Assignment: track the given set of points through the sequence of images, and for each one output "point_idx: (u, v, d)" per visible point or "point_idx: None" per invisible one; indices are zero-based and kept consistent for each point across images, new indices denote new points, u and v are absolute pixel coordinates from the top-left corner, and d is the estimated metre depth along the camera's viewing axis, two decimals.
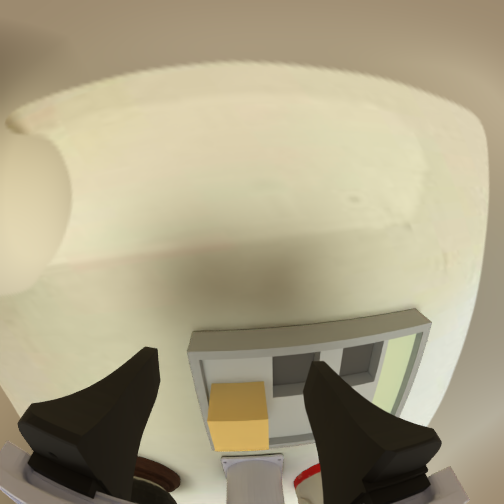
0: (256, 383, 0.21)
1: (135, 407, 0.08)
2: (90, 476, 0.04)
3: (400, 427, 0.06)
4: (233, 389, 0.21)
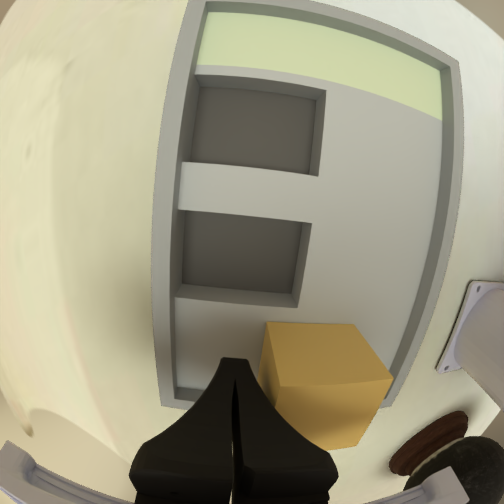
0: (265, 335, 0.12)
1: None
2: None
3: (289, 443, 0.06)
4: (261, 374, 0.12)
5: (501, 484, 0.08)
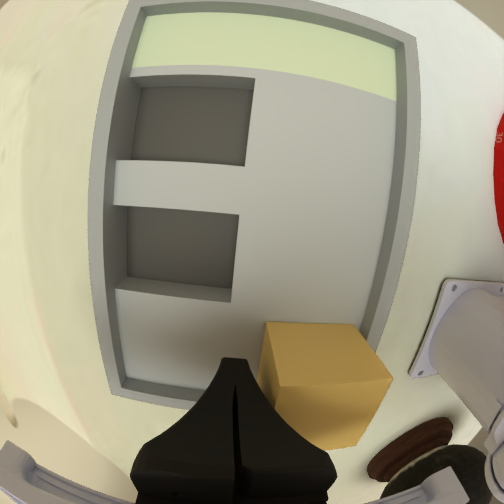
0: (264, 335, 0.12)
1: None
2: None
3: (287, 443, 0.06)
4: (260, 374, 0.12)
5: (483, 498, 0.07)
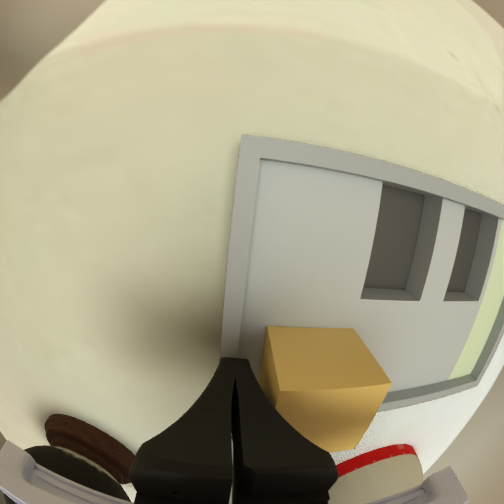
0: (343, 330, 0.13)
1: None
2: None
3: (289, 443, 0.06)
4: (310, 336, 0.12)
5: None
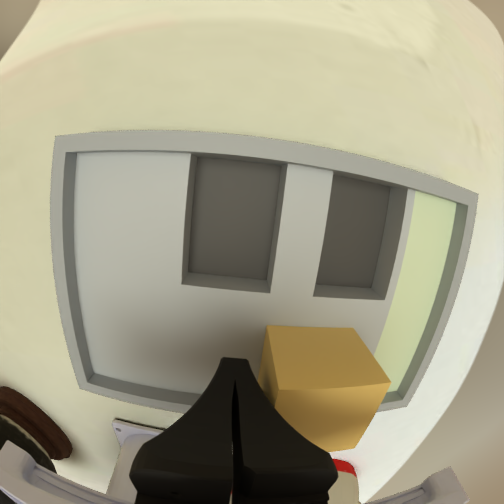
0: (343, 329, 0.13)
1: None
2: None
3: (288, 443, 0.06)
4: (309, 336, 0.12)
5: None
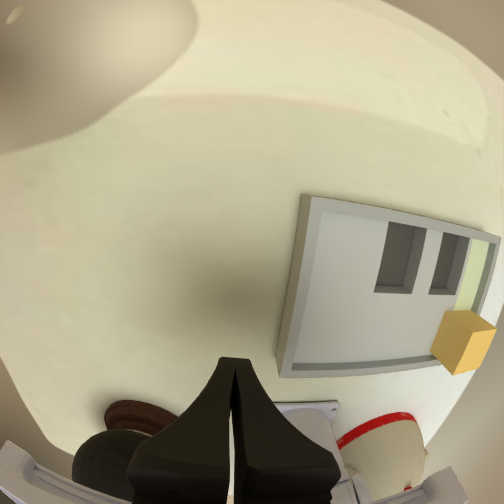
0: (468, 311, 0.21)
1: None
2: None
3: (292, 443, 0.06)
4: (461, 314, 0.20)
5: None
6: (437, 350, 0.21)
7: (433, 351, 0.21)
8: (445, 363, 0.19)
